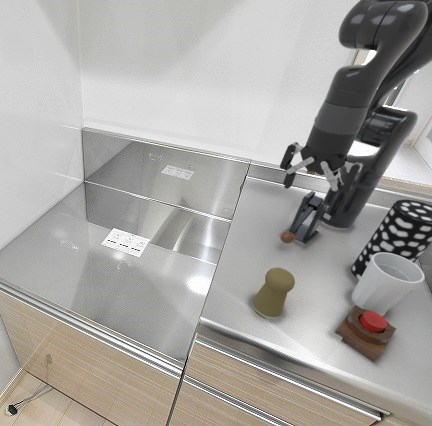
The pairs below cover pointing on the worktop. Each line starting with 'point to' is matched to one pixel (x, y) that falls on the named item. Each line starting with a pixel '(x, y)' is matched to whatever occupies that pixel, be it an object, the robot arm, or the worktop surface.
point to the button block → (364, 335)
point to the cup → (386, 282)
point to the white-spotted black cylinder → (399, 234)
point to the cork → (273, 292)
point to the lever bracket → (308, 233)
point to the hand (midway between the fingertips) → (306, 194)
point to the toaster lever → (301, 220)
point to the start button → (373, 321)
